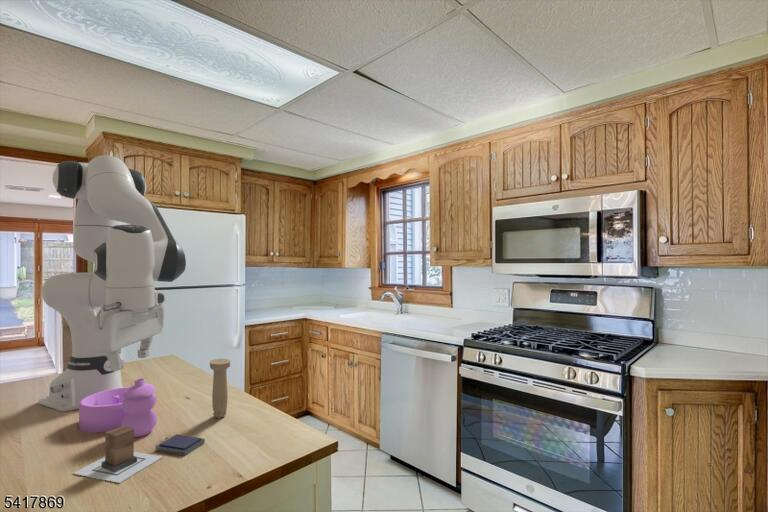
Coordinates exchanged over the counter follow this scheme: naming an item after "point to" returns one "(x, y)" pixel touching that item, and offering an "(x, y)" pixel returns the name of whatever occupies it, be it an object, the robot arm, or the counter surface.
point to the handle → (219, 386)
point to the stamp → (119, 449)
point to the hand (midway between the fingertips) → (130, 363)
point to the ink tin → (180, 444)
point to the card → (120, 475)
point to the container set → (120, 409)
